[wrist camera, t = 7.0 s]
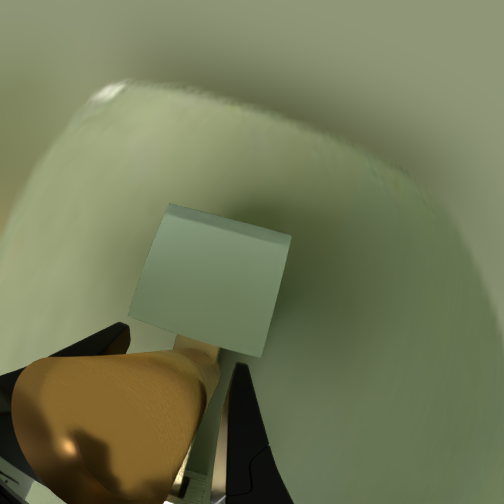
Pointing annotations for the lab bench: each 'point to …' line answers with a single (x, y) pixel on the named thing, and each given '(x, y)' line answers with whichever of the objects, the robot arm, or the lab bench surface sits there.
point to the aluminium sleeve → (190, 489)
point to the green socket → (212, 279)
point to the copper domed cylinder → (114, 421)
